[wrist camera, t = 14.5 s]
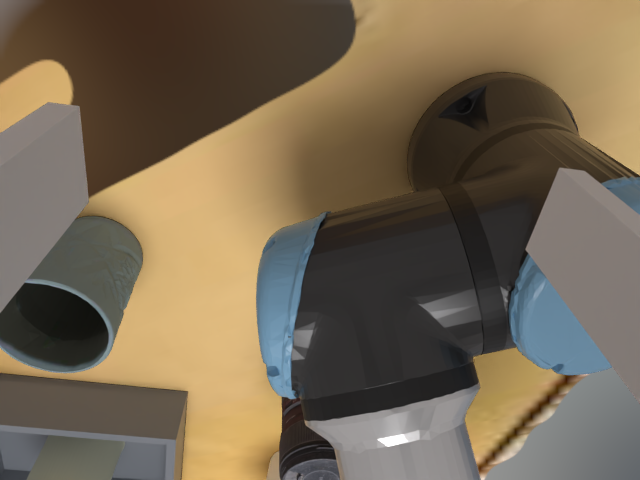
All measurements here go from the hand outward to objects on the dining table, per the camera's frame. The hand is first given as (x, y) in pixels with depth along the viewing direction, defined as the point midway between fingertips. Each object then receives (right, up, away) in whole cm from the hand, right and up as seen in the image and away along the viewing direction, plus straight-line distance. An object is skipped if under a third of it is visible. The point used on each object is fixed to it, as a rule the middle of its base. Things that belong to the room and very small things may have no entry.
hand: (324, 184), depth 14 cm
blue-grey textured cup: (-23, -3, +38) cm, 44 cm away
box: (-30, -26, +51) cm, 65 cm away
